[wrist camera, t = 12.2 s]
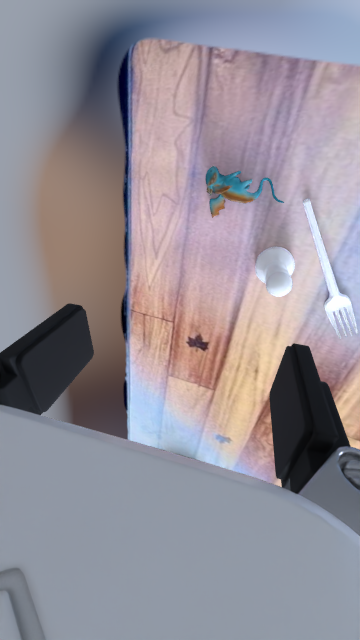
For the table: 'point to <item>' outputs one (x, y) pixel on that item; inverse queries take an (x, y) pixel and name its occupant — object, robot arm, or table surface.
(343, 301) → the fork
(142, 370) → the table surface
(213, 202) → the dragon figurine
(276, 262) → the chess pawn
